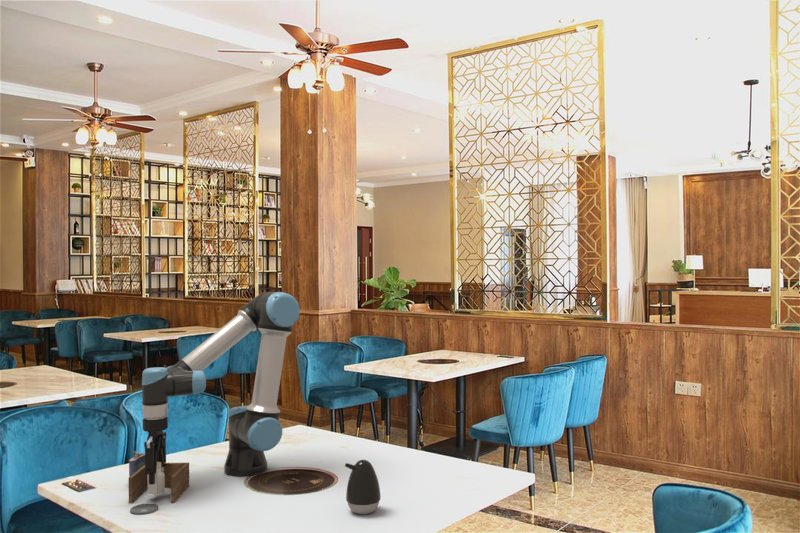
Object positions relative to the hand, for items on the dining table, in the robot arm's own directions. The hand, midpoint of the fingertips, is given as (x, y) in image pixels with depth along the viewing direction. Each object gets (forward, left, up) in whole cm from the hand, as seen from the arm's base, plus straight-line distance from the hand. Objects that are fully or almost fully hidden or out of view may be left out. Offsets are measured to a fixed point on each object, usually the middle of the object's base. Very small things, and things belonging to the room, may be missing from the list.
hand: (156, 490), depth 215 cm
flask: (+12, -17, -3) cm, 21 cm away
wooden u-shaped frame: (0, -4, -3) cm, 5 cm away
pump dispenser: (-66, +14, -3) cm, 67 cm away
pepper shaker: (0, 0, -1) cm, 1 cm away
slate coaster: (0, +10, -3) cm, 10 cm away
